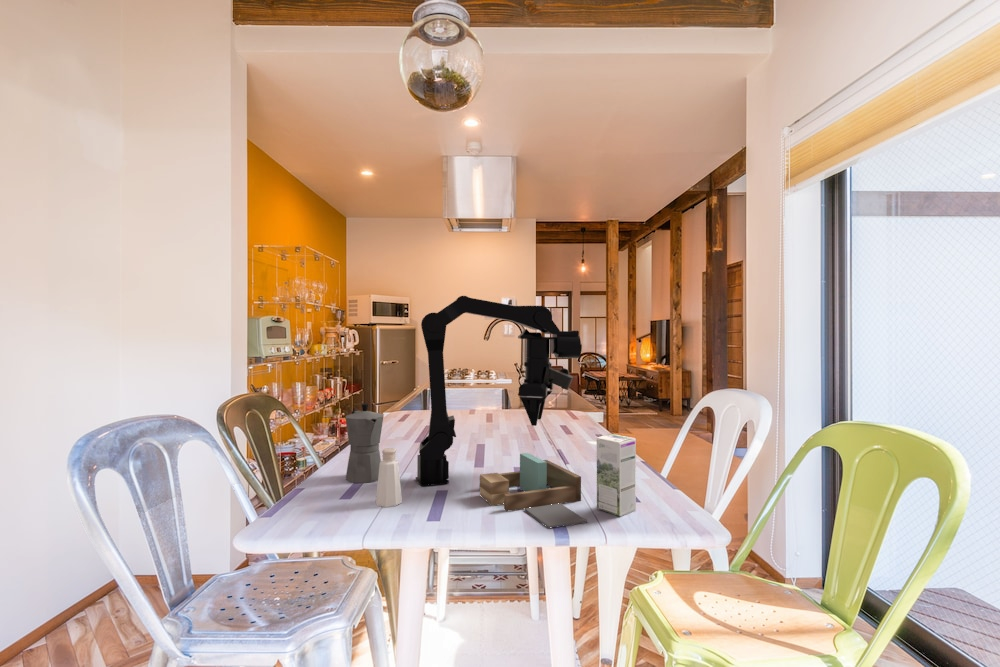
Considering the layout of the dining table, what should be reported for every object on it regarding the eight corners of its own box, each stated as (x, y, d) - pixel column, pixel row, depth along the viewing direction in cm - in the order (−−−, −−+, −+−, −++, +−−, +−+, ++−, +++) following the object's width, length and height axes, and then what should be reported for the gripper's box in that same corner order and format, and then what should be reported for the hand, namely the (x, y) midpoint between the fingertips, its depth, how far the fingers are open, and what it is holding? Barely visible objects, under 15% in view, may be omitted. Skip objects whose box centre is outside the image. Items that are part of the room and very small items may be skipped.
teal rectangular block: (538, 501, 104) (538, 463, 104) (519, 489, 112) (519, 453, 112) (546, 500, 105) (546, 462, 105) (527, 488, 113) (527, 452, 113)
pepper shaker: (393, 496, 106) (393, 445, 106) (407, 503, 102) (407, 449, 102) (370, 502, 102) (370, 449, 103) (384, 509, 99) (384, 453, 99)
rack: (506, 511, 98) (506, 485, 98) (479, 489, 112) (479, 466, 112) (581, 500, 104) (581, 476, 104) (546, 480, 118) (546, 459, 118)
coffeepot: (393, 481, 118) (394, 405, 118) (354, 488, 112) (354, 408, 112) (370, 467, 130) (370, 398, 130) (334, 472, 125) (334, 400, 125)
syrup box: (637, 510, 99) (637, 437, 99) (619, 517, 95) (619, 441, 95) (613, 502, 103) (613, 432, 103) (595, 509, 99) (595, 436, 99)
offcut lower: (491, 507, 101) (491, 495, 101) (479, 497, 107) (479, 485, 107) (509, 505, 103) (509, 492, 103) (496, 495, 109) (496, 483, 109)
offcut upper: (490, 494, 101) (490, 482, 101) (479, 486, 107) (480, 474, 107) (508, 492, 103) (508, 480, 103) (497, 484, 109) (497, 472, 109)
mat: (548, 528, 89) (548, 526, 89) (524, 510, 98) (524, 508, 98) (587, 522, 92) (587, 520, 92) (560, 505, 101) (560, 503, 101)
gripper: (568, 360, 110) (567, 431, 110) (573, 357, 128) (572, 417, 128) (518, 359, 112) (517, 428, 112) (530, 356, 131) (529, 415, 131)
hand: (536, 422), depth 121 cm, fingers open, 9 cm apart
